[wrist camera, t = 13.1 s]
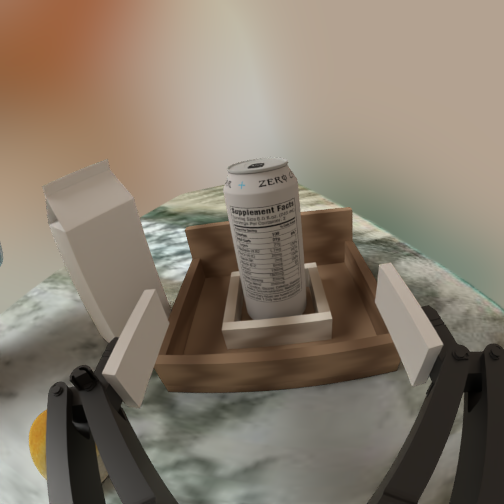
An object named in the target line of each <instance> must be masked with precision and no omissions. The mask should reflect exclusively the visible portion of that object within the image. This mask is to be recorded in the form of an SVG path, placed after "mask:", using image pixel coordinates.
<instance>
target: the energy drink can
mask: <svg viewBox="0 0 504 504" xmlns="http://www.w3.org/2000/svg"><path fill="white" fill-rule="evenodd" d="M287 163H288V162H287V159H284V158H260V159H253V160H247V161H243V162H239V163H236V164H233V165H231V166H229V167H228V168H227V171H228V173H229V174H228V177H227V180H226V183H225V186H224V189H223V191H224V197H225V202H226V207H227V212H228V218H229V223H230V228H231V233H232V238H233V243H234V248H235V253H236V258H237V263H238V268H239V273H240V278H241V283H242V288H243V293H244V298H245V303H246V308H247V312H248V314H249V316H250V317H251V318H252V319H253V320H260V319H271V318H280V317H290V316H298V315H302V313H303V312H304V311H305V309H306V305H307V303H306V283H305V266H304V251H303V238H302V225H301V213H300V202H299V192H298V182H297V178H296V177H295V176H294V174H293V173H292V171H291V170H290V169H289V167H288V165H287Z"/></svg>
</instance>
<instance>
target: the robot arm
mask: <svg viewBox="0 0 504 504" xmlns="http://www.w3.org/2000/svg"><path fill="white" fill-rule="evenodd" d="M2 262H3V252H2V248H1V243H0V266H1V264H2ZM375 303H376V305H377V308H378V310H379V312H380V314H381V316H382V318H383V320H384V322H385V324H386V327H387V329H388V331H389V333H390V335H391V337H392V340H393V342H394V344H395V347H396V349H397V351H398V353H399V356H400V358H401V360H402V363H403V365H404V368H405V370H406V372H407V375H408V377H409V380H410V382H411V385H412V387H414V386H417V385H420V384H424V383H426V381H427V379H428V377H429V376H430V378H431V380H432V383H431V385H430V387H429V389H428V390H427V392H426V394H427V395H426V398H425V400H424V402H423V405H422V407H421V409H420V412H419V414H418V416H417V418H416V420H415V423H414V425H413V427H412V429H411V431H410V433H409V435H408V437H407V439H406V441H405V443H404V445H403V447H402V448H401V450H400V452H399V454H398V456H397V458H396V459H395V461H394V463H393V465H392V466H391V468H390V470H389V471H388V473H387V474H386V476H385V478H384V479H383V481H382V482H381V484H380V486H379V487H378V489H377V490H376V492H375V493H374V494H373V496H372V497H371V499H370V500H369V502H368V503H367V504H418V500H419V498H420V497H421V495H422V493H423V491H424V489H425V487H426V485H427V483H428V482H429V480H430V478H431V476H432V474H433V471H434V469H435V467H436V465H437V463H438V461H439V458H440V456H441V454H442V451H443V449H444V447H445V444H446V442H447V439H448V437H449V434H450V431H451V428H452V426H453V423H454V420H455V417H456V414H457V411H458V408H459V404H460V401H461V398H462V394H463V392H464V414H463V428H462V438H461V446H460V453H459V460H458V466H457V471H456V476H455V481H454V486H453V490H452V495H451V499H450V502H449V504H504V349H503V348H502V347H501V346H499V345H497V344H489V345H487V346H486V348H485V349H484V351H483V352H470V351H469V350H468V349H467V348H466V347H465V346H463V345H459V344H457V343H456V341H455V340H454V338H453V336H452V335H451V333H450V332H449V330H448V328H447V327H446V325H444V322H443V321H442V319H441V317H440V316H439V314H438V313H437V311H436V310H434V309H433V308H432V307H430V306H429V305H428V306H424V307H421V306H420V305H419V303H418V302H417V300H416V299H415V297H414V296H413V294H412V293H411V291H410V290H409V288H408V287H407V285H406V284H405V282H404V281H403V279H402V278H401V276H400V275H399V273H398V272H397V271H396V269H395V268H394V266H393V265H392V263H386V264H379V272H378V281H377V290H376V298H375ZM168 326H169V321H168V319H167V316H166V314H165V311H164V309H163V306H162V304H161V301H160V299H159V296H158V294H157V291H156V289H150V290H144V292H143V294H142V296H141V298H140V299H139V301H138V303H137V305H136V307H135V309H134V310H133V312H132V314H131V316H130V318H129V320H128V322H127V324H126V326H125V327H124V329H123V331H122V333H121V335H120V337H114V338H113V339H112V340H111V341H110V342H109V344H108V346H107V348H106V350H105V352H104V353H103V355H102V357H101V359H100V361H99V363H98V365H97V367H96V369H95V371H94V372H93V371H92V370H91V368H90V367H89V366H87V365H82V366H79V367H77V368H76V369H74V370H73V372H72V373H71V375H70V381H71V382H72V384H73V385H74V386H75V387H68V386H67V385H66V384H65V383H64V382H57V383H55V384H54V385H53V386H52V387H51V388H50V390H49V393H48V405H47V420H46V470H47V485H48V495H49V504H106V503H105V499H104V494H103V489H102V484H101V479H100V473H99V467H98V460H97V453H96V446H97V449H98V451H99V454H100V456H101V459H102V461H103V463H104V466H105V468H106V470H107V472H108V475H109V477H110V479H111V481H112V483H113V485H114V487H115V489H116V491H117V493H118V495H119V497H120V499H121V501H122V503H123V504H178V502H177V501H176V500H175V498H174V497H173V495H172V494H171V492H170V491H169V490H168V488H167V487H166V485H165V484H164V482H163V480H162V479H161V477H160V476H159V474H158V473H157V471H156V469H155V468H154V466H153V464H152V463H151V461H150V459H149V458H148V456H147V454H146V453H145V451H144V449H143V447H142V445H141V444H140V442H139V440H138V438H137V436H136V434H135V432H134V430H133V428H132V426H131V424H130V422H129V420H128V418H127V416H126V414H125V412H124V410H123V408H122V407H121V403H122V401H123V402H124V403H125V404H126V405H127V406H128V407H134V408H140V407H141V404H142V401H143V398H144V395H145V392H146V389H147V386H148V383H149V380H150V377H151V374H152V371H153V368H154V365H155V362H156V359H157V356H158V354H159V351H160V348H161V345H162V342H163V340H164V337H165V334H166V331H167V329H168ZM95 443H96V445H95Z"/></svg>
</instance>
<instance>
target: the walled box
mask: <svg viewBox="0 0 504 504" xmlns="http://www.w3.org/2000/svg"><path fill="white" fill-rule="evenodd" d="M300 213H301V225H302V238H303V251H304V266H305V283H306V303H307V305H306V309H305V311H304V312H303V313H302V315H298V316H290V317H280V318H271V319H260V320H253V319H252V318H251V317H250V316H249V314H248V312H247V308H246V303H245V298H244V293H243V288H242V283H241V278H240V273H239V268H238V263H237V258H236V253H235V248H234V243H233V238H232V233H231V228H230V223H229V221H226V222H218V223H211V224H204V225H197V226H190V227H187V228H186V229H185V233H186V237H187V240H188V244H189V248H190V251H191V255H192V262H191V264H190V267H189V269H188V271H187V274H186V276H185V279H184V281H183V283H182V286H181V288H180V291H179V293H178V296H177V298H176V301H175V303H174V306H173V308H172V311H171V313H170V316H169V318H168V321H169V326H168V329H167V331H166V334H165V337H164V340H163V342H162V345H161V348H160V351H159V354H158V356H157V359H156V362H155V365H154V369H155V371H156V372H157V374H158V376H159V377H160V379H161V380H162V382H163V384H164V385H165V387H166V388H167V390H168V392H192V393H227V392H254V391H269V390H281V389H292V388H301V387H310V386H317V385H324V384H331V383H338V382H344V381H349V380H355V379H360V378H365V377H370V376H375V375H380V374H384V373H389V372H393V371H397V369H398V366H399V363H400V360H401V358H400V356H399V353H398V351H397V349H396V347H395V344H394V342H393V340H392V337H391V335H390V333H389V331H388V329H387V327H386V324H385V322H384V320H383V318H382V316H381V314H380V312H379V310H378V308H377V305H376V303H375V298H376V290H377V281H376V279H375V278H374V276H373V274H372V272H371V271H370V269H369V267H368V266H367V264H366V262H365V261H364V259H363V257H362V255H361V254H360V252H359V251H358V249H357V247H356V246H355V244H354V242H353V241H352V209H351V208H350V207H346V208H336V209H326V210H316V211H307V212H300Z"/></svg>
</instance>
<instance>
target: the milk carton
mask: <svg viewBox="0 0 504 504" xmlns="http://www.w3.org/2000/svg"><path fill="white" fill-rule="evenodd" d="M43 191H44V194H45V197H46V207H47V216H48V223H49V226H50V229H51V231H52V234H53V237H54V240H55V242H56V245H57V247H58V250H59V252H60V255H61V257H62V259H63V261H64V264H65V266H66V268H67V271H68V273H69V275H70V277H71V279H72V281H73V284H74V286H75V288H76V290H77V292H78V294H79V296H80V298H81V300H82V302H83V304H84V306H85V307H86V309H87V311H88V313H89V315H90V317H91V319H92V320H93V322H94V324H95V326H96V327H97V329H98V331H99V333H100V334H101V336H102V337H103V338H104V339H105V340H106V341H107V342H108V343H109V342H110V341H111V340H112V339H113V338H114V337H120V335H121V333H122V331H123V329H124V327H125V326H126V324H127V322H128V320H129V318H130V316H131V314H132V312H133V310H134V309H135V307H136V305H137V303H138V301H139V299H140V298H141V296H142V294H143V292H144V290H150V289H156V291H157V294H158V296H159V299H160V301H161V304H162V306H163V309H164V311H165V314H166V316H167V319H168V318H169V316H170V313H171V308H170V305H169V303H168V300H167V298H166V295H165V292H164V290H163V287H162V284H161V281H160V279H159V276H158V273H157V270H156V267H155V265H154V262H153V259H152V256H151V253H150V250H149V247H148V244H147V241H146V238H145V234H144V231H143V228H142V225H141V221H140V218H139V215H138V212H137V208H136V204H135V201H134V197H133V196H132V195H131V194H130V193H129V191H128V190H127V189H126V188H125V187H124V186H123V184H122V183H121V182H120V181H119V180H118V178H117V177H116V176H115V175H114V173H113V172H112V171H111V170H110V167H109V163H108V160H104V161H101V162H98V163H96V164H93V165H90V166H88V167H85V168H83V169H80V170H78V171H75V172H73V173H71V174H68V175H66V176H64V177H62V178H59V179H57V180H55V181H52V182H51V183H48V184H46V185H44V186H43Z"/></svg>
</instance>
